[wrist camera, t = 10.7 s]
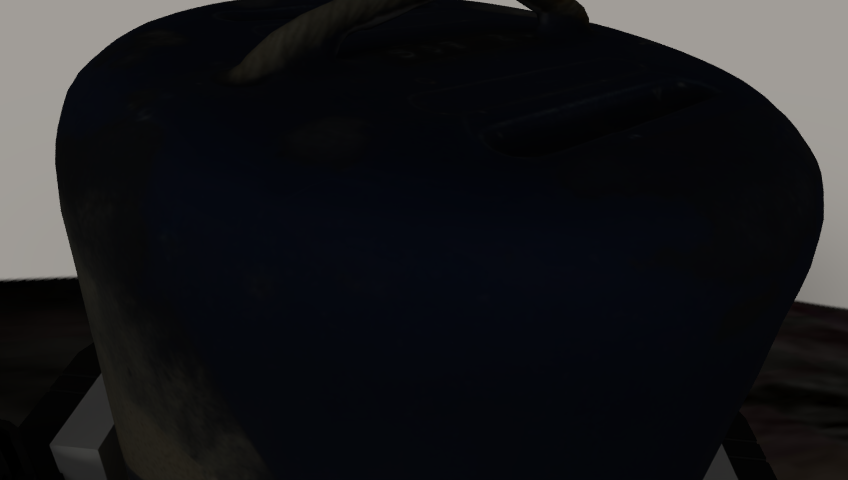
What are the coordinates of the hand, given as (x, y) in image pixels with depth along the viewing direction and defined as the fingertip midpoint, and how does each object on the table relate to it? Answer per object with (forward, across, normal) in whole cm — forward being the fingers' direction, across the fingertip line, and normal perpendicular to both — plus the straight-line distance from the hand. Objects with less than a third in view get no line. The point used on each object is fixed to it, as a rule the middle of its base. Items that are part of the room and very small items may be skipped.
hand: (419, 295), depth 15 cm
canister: (-4, 0, -10) cm, 11 cm away
